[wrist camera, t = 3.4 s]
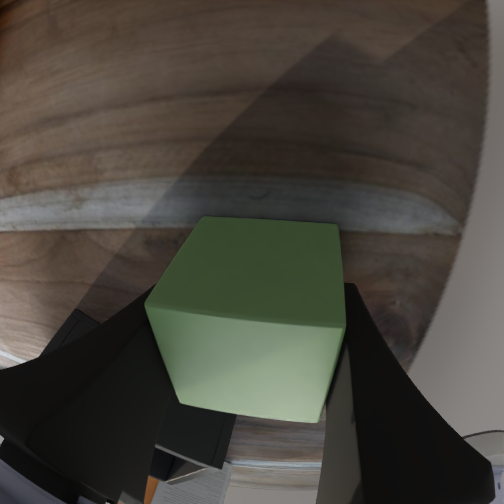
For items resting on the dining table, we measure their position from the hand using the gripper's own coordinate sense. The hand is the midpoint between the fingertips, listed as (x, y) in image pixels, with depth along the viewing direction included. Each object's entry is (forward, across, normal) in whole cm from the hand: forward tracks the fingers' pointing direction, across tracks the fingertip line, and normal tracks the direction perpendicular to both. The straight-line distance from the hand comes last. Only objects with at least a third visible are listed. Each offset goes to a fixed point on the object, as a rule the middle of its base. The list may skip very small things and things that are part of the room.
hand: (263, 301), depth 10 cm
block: (+1, 0, 0) cm, 1 cm away
